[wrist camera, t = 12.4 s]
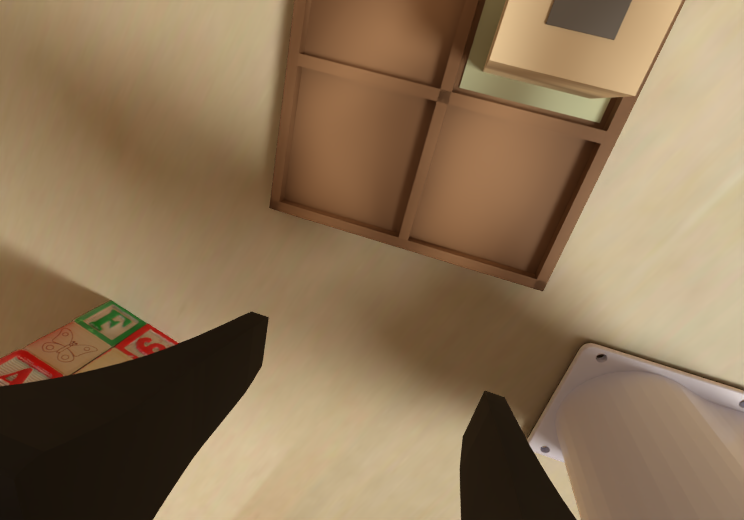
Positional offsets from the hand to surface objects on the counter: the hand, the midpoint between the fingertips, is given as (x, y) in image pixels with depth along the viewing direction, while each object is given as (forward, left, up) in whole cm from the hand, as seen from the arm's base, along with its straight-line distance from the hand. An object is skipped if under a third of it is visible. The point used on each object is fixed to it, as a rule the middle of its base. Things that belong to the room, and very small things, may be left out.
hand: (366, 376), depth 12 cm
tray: (0, -9, -9) cm, 13 cm away
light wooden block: (-3, -12, -9) cm, 15 cm away
